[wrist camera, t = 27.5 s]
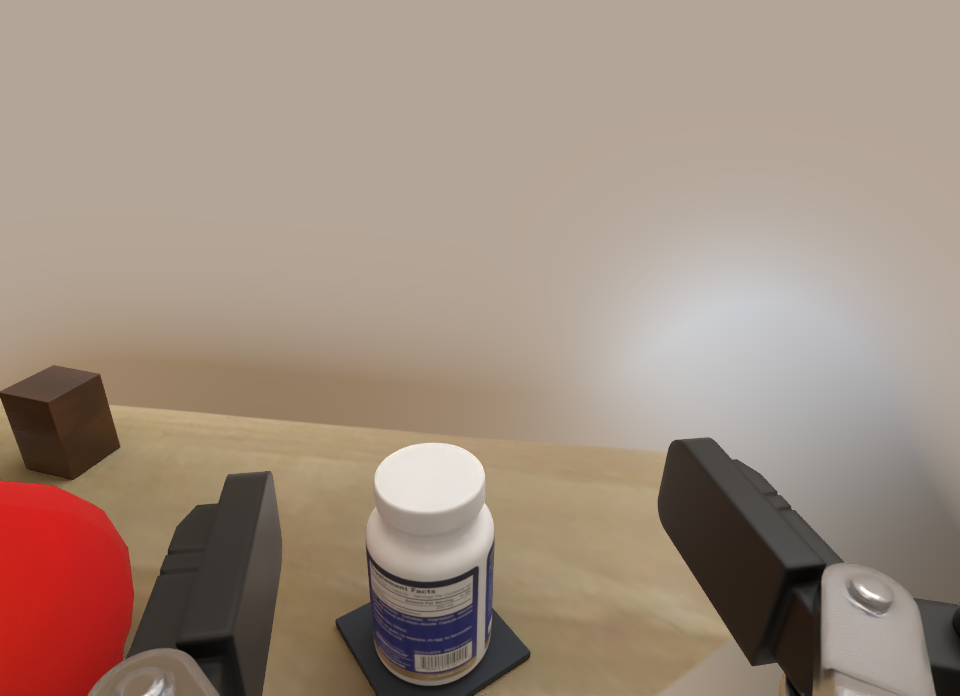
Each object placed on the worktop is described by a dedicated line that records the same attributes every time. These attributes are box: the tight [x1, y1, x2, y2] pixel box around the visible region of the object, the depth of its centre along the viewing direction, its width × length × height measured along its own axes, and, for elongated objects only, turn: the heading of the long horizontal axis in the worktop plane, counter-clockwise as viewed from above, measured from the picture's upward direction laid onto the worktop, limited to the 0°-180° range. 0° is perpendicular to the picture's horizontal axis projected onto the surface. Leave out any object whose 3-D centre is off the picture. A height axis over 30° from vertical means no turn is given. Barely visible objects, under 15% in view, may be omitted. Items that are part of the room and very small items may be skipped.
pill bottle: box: [366, 443, 494, 686], centre depth 27 cm, size 6×6×10 cm
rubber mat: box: [336, 602, 530, 696], centre depth 30 cm, size 7×7×1 cm
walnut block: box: [0, 365, 120, 479], centre depth 41 cm, size 4×4×6 cm
